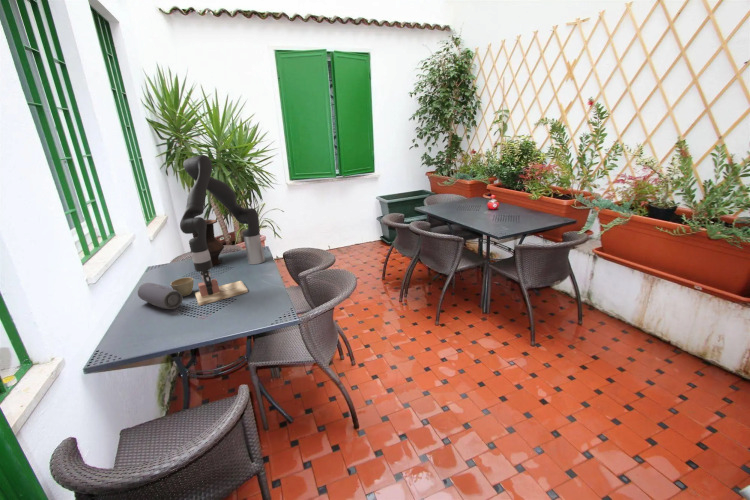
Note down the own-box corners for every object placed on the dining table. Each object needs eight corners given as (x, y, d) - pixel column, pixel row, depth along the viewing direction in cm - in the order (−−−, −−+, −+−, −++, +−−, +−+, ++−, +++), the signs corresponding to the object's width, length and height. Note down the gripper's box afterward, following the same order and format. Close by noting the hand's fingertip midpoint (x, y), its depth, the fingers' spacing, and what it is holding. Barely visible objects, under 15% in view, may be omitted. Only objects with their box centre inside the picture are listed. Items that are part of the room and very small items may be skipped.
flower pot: (199, 293, 169) (196, 280, 167) (178, 300, 163) (174, 287, 160) (192, 288, 176) (188, 275, 174) (171, 295, 169) (167, 282, 167)
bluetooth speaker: (186, 306, 157) (181, 286, 154) (166, 315, 149) (160, 294, 146) (159, 297, 168) (154, 278, 165) (139, 305, 161) (133, 286, 157)
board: (241, 283, 178) (241, 280, 178) (248, 292, 167) (247, 289, 166) (195, 295, 167) (194, 292, 167) (199, 305, 156) (198, 302, 156)
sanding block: (218, 289, 168) (215, 278, 166) (220, 293, 164) (217, 281, 162) (200, 294, 164) (197, 283, 162) (202, 297, 160) (199, 286, 158)
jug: (201, 260, 218) (190, 214, 209) (230, 257, 220) (221, 211, 210) (187, 272, 199) (174, 222, 189) (220, 269, 200) (209, 219, 190)
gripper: (212, 261, 155) (220, 295, 160) (208, 254, 166) (215, 285, 172) (194, 265, 151) (203, 300, 156) (191, 257, 162) (199, 290, 168)
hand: (209, 292), depth 164 cm, fingers closed on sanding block, 4 cm apart
